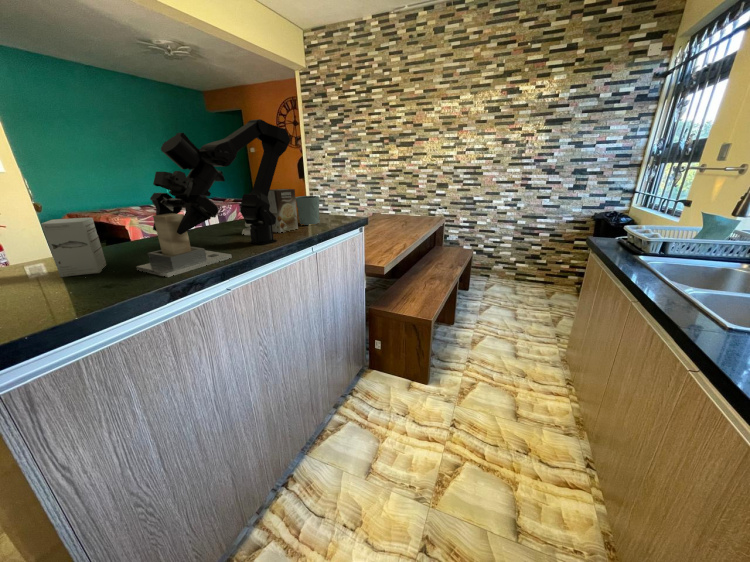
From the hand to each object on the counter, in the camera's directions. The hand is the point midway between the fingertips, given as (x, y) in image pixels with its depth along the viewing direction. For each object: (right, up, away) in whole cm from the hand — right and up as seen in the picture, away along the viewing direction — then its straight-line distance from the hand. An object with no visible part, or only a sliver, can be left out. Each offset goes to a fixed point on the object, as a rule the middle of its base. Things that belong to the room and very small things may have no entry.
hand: (166, 232), depth 75 cm
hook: (+3, +6, +44) cm, 45 cm away
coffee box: (+15, +8, +48) cm, 51 cm away
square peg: (+1, -7, +4) cm, 8 cm away
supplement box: (-20, -10, 0) cm, 22 cm away
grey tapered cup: (+22, +13, +62) cm, 67 cm away
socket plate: (+1, -7, +6) cm, 10 cm away
